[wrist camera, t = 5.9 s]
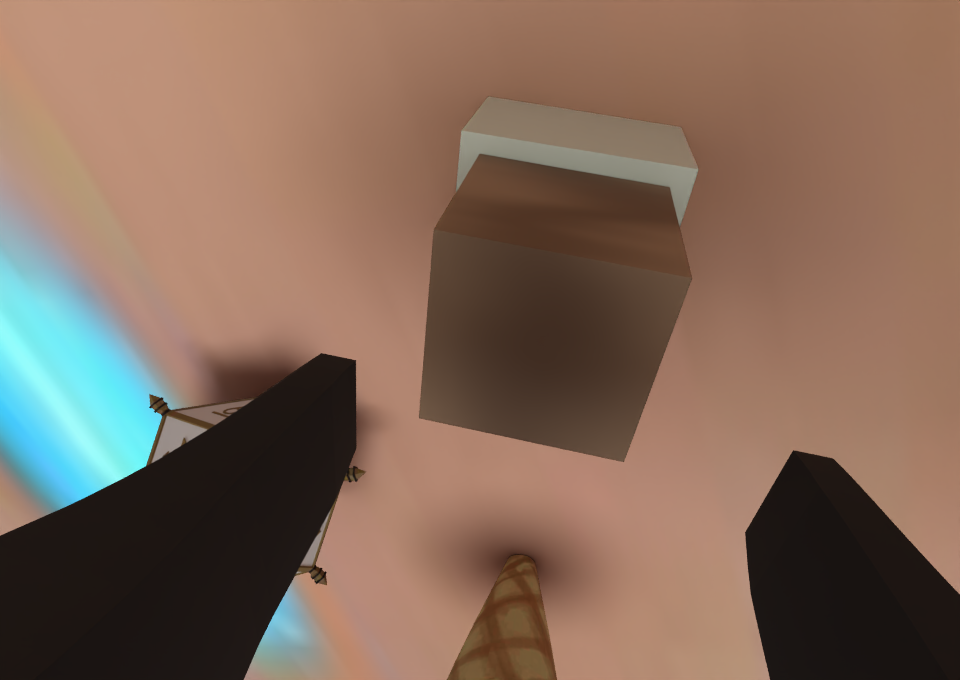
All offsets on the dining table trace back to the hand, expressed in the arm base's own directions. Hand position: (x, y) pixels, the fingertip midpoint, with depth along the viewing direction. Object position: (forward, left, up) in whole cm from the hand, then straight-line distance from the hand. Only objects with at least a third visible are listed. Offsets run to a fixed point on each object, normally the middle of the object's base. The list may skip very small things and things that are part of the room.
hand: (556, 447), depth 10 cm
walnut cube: (+1, 0, -6) cm, 7 cm away
